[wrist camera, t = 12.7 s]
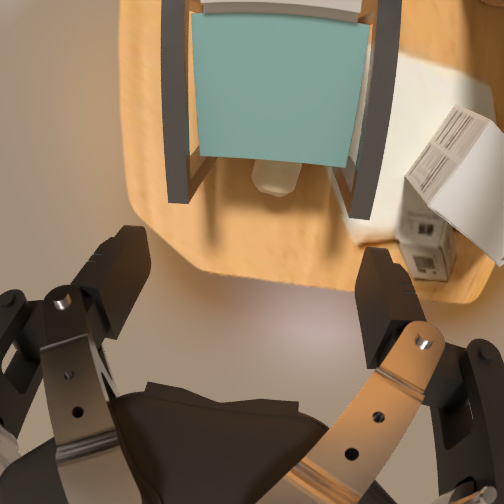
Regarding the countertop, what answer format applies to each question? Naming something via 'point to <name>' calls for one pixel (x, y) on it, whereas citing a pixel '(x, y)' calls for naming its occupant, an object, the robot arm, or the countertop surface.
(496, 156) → the supplement box
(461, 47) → the countertop surface
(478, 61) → the countertop surface
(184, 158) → the frame
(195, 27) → the trapdoor
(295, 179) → the candle
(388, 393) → the robot arm
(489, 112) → the countertop surface
